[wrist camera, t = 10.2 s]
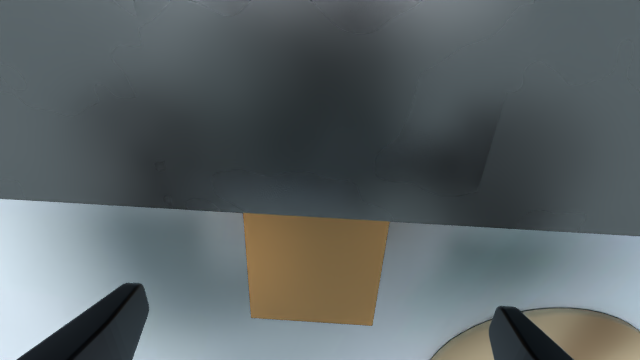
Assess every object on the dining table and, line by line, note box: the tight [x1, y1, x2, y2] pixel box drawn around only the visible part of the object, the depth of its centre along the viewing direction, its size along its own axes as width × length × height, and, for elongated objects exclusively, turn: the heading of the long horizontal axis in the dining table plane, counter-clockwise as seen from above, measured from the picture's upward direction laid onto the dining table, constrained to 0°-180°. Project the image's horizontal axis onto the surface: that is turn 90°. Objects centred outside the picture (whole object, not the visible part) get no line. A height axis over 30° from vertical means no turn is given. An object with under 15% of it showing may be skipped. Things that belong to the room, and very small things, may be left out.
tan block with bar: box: [243, 213, 389, 326], centre depth 9 cm, size 4×13×3 cm, turn 178°
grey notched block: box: [0, 0, 640, 236], centre depth 8 cm, size 16×5×5 cm, turn 88°
